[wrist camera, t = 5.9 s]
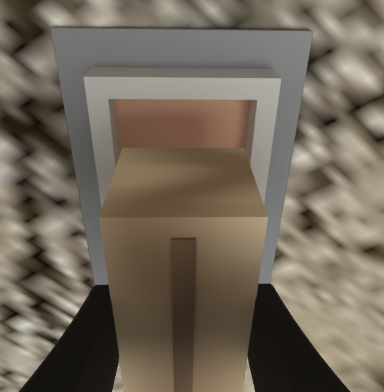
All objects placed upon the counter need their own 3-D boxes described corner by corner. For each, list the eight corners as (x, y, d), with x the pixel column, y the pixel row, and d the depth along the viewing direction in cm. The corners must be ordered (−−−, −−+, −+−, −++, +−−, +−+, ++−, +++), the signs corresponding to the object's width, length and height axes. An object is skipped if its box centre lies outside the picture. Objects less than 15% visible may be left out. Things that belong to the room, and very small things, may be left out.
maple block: (244, 147, 12) (268, 219, 9) (228, 314, 16) (240, 407, 13) (122, 147, 12) (98, 220, 9) (137, 314, 16) (125, 409, 13)
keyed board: (267, 287, 22) (274, 313, 20) (97, 288, 22) (90, 315, 20) (309, 29, 14) (327, 37, 13) (53, 26, 14) (36, 34, 12)
